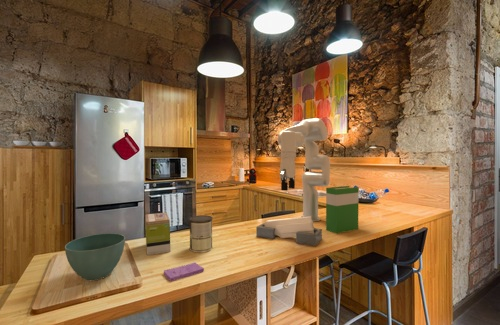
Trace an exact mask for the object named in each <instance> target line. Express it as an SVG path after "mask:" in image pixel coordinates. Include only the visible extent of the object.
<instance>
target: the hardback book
mask: <svg viewBox="0 0 500 325" xmlns="http://www.w3.org/2000/svg"><path fill="white" fill-rule="evenodd" d="M359 189H360V188H359V186H355V187H353V186H352V187H350V185H343V186H341V185H340V186H332V187H326V189H325V194H326V195H325V197H326V198H325V202H326V203H325V214H326V215H325V231H328V232H331V233H333V234H337V235H338V234H340V233H341V234H342V233H345V232H349V231H350V232H351V231H354V230H359V200H360V198H359V195H360V194H359V191H360V190H359Z"/></svg>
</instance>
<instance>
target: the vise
mask: <svg viewBox="0 0 500 325" xmlns="http://www.w3.org/2000/svg"><path fill="white" fill-rule="evenodd" d="M264 223H265V222H263V223H262V224H259V225H257V226H256V228H255V230H256V232H255V233H256V235H255V236H256V237H257V238H263V239H269V240H270V239H271V240H274V239H276V235H275V228H270V227H265V225H264ZM322 239H323V229H322V228H316V227H314V234H312V233H305V232H297V233H296V237H295V242H296V244H300V245H304V244H305V245H306V246H311V247H317V246H318V245H319V243H320V242H321V241H322Z"/></svg>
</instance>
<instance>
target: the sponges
mask: <svg viewBox="0 0 500 325" xmlns="http://www.w3.org/2000/svg"><path fill="white" fill-rule="evenodd" d="M204 271H205V268H204V267H203V266H202V265H199V264H198V263H197V262H192V263H188V264H185V265H181V266H177V267H173V268H168V269H164V270H163V275H164V276H165V277H166V278H167V279H168V281H169V282H173V281H177V280H180V279H183V278H187V277H190V276H194V275H196V274H199V273H202V272H204Z"/></svg>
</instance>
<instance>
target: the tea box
mask: <svg viewBox="0 0 500 325" xmlns="http://www.w3.org/2000/svg"><path fill="white" fill-rule="evenodd" d="M144 216H145V218H144V219H145V246H146V255H147V256H150V255H157V254H165V253H170V252H171V220H170V218H169V215H168V213H167V212H158V213H149V214H148V213H147V214H145V215H144Z"/></svg>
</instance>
